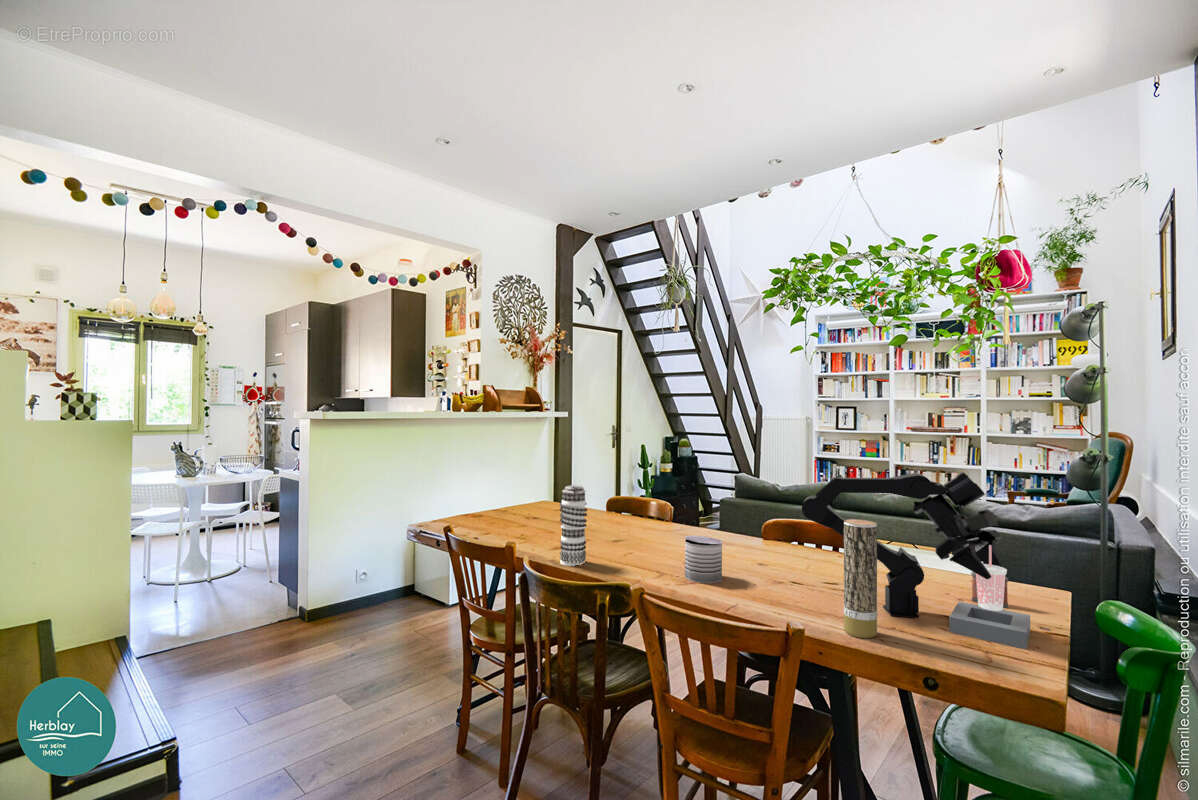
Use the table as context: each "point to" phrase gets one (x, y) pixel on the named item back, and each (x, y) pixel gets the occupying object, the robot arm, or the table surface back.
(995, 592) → the beverage cup
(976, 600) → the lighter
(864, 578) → the paper tube
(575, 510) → the decorative candle
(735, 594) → the table surface
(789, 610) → the table surface
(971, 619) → the hole block
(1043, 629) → the table surface
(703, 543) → the can
